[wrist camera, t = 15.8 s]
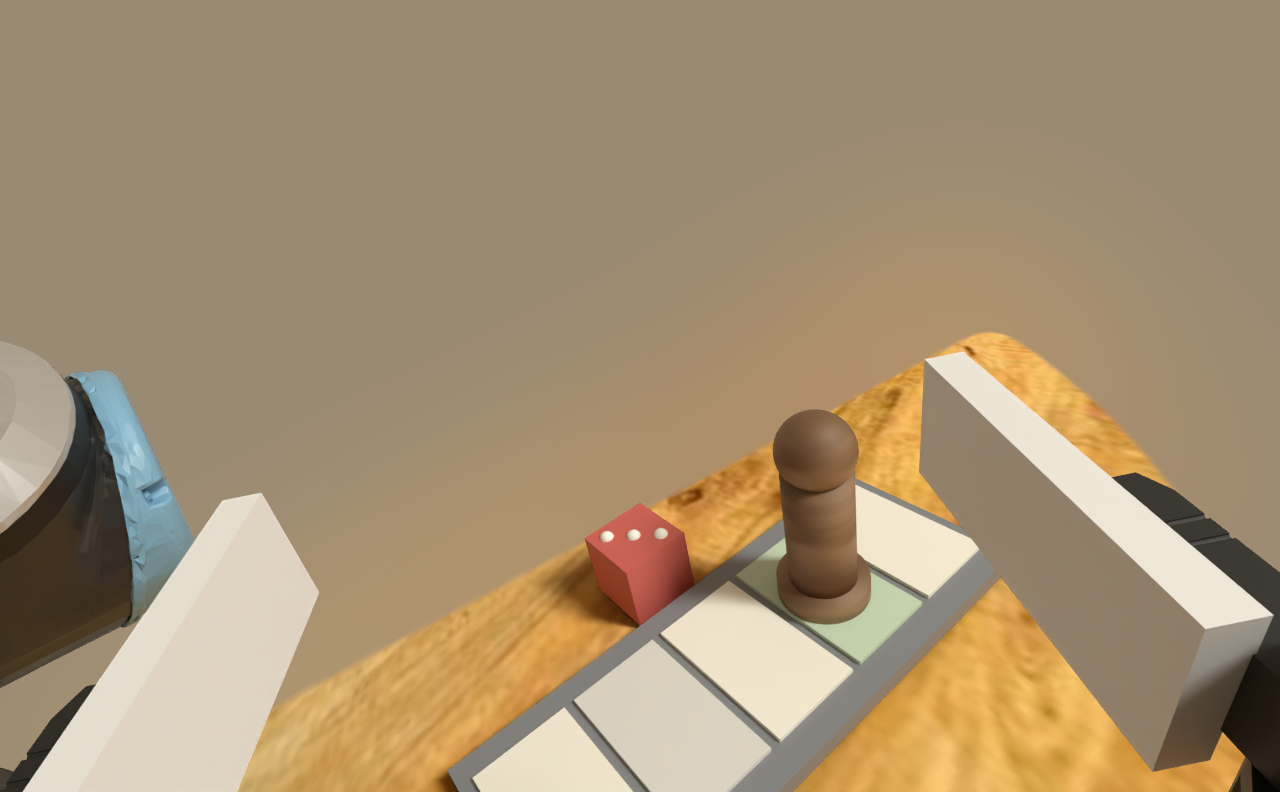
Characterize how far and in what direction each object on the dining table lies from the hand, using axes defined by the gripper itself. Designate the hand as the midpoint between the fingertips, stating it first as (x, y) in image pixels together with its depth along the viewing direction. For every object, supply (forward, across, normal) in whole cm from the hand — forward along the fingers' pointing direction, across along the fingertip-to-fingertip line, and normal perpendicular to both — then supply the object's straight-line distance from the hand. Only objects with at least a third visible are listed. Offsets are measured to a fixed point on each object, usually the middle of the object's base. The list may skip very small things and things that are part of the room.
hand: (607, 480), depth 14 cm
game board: (+13, +4, -24) cm, 28 cm away
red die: (+20, -1, -24) cm, 32 cm away
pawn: (+16, +9, -23) cm, 29 cm away
